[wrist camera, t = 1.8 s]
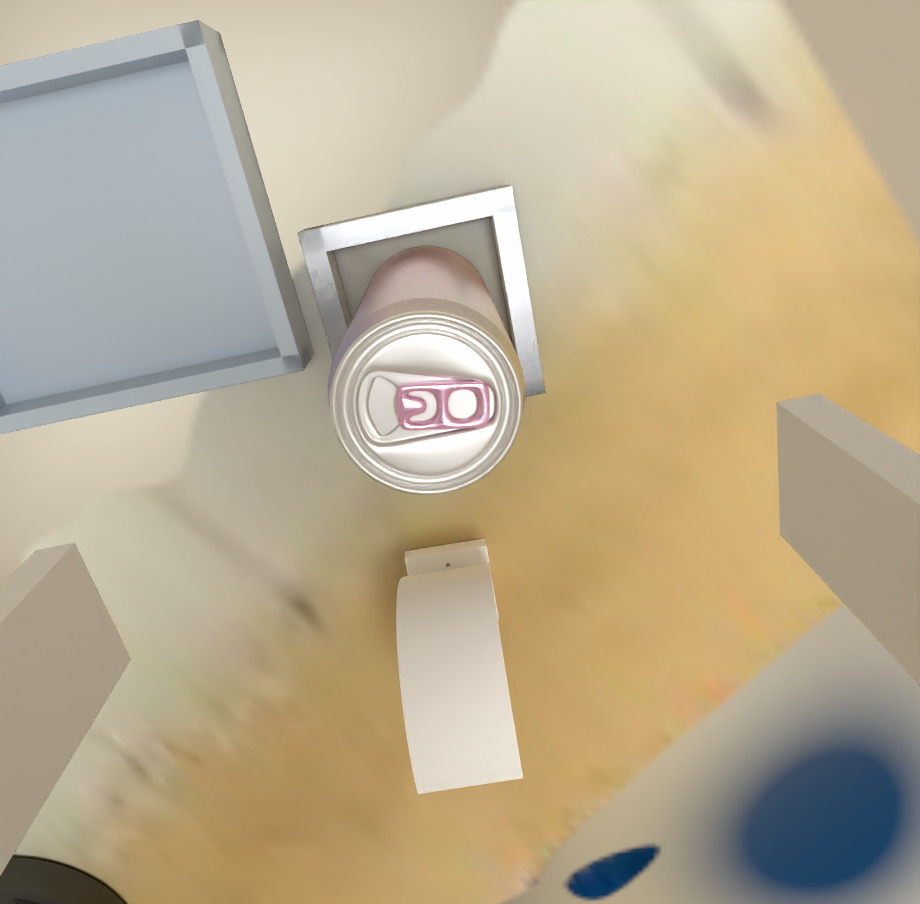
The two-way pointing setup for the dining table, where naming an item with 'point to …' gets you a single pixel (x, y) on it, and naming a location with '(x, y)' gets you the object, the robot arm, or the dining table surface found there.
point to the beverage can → (426, 377)
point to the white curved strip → (454, 670)
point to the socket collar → (419, 218)
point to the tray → (134, 232)
